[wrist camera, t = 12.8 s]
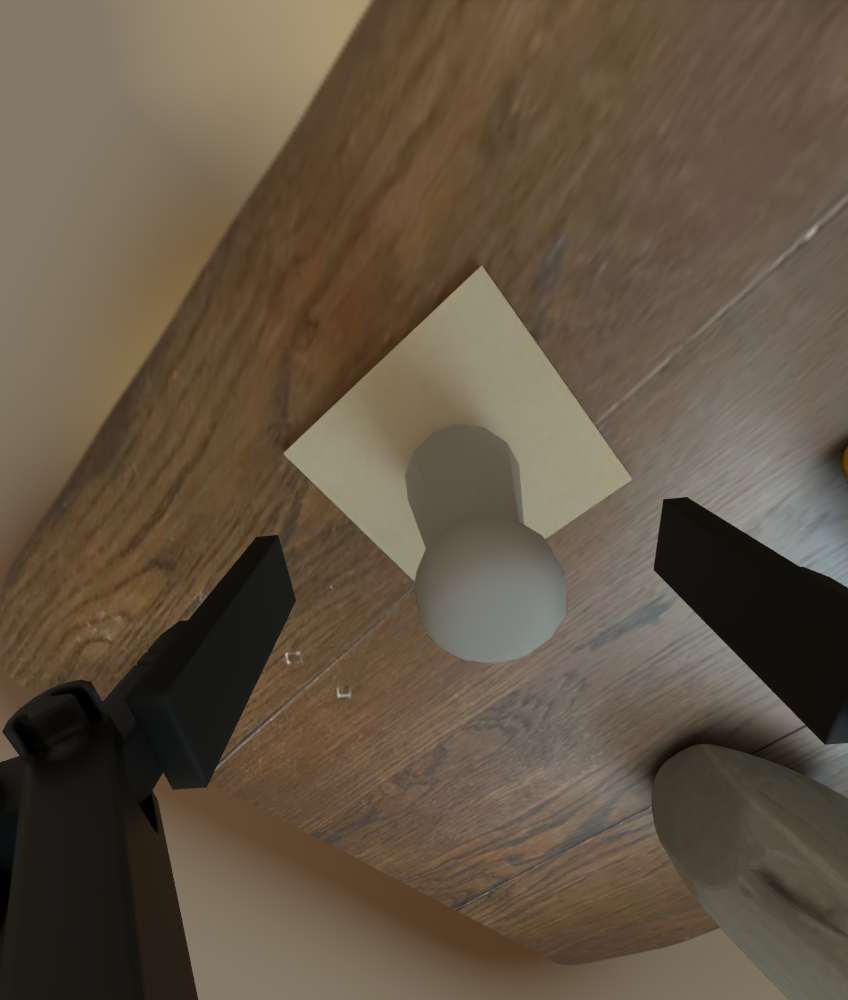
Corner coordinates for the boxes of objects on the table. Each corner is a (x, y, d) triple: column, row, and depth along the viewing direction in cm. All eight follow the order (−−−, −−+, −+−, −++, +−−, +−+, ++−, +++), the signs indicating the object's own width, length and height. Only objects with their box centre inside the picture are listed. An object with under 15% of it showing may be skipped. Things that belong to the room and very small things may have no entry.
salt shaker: (455, 531, 24) (482, 730, 12) (386, 467, 22) (338, 619, 10) (532, 467, 22) (651, 621, 10) (463, 392, 21) (509, 472, 9)
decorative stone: (722, 697, 30) (982, 1017, 16) (862, 783, 33) (1173, 1106, 19) (607, 783, 33) (734, 1101, 20) (743, 851, 37) (931, 1161, 23)
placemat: (442, 605, 27) (442, 609, 26) (284, 451, 23) (282, 453, 22) (629, 476, 23) (632, 479, 23) (480, 266, 19) (481, 264, 19)
